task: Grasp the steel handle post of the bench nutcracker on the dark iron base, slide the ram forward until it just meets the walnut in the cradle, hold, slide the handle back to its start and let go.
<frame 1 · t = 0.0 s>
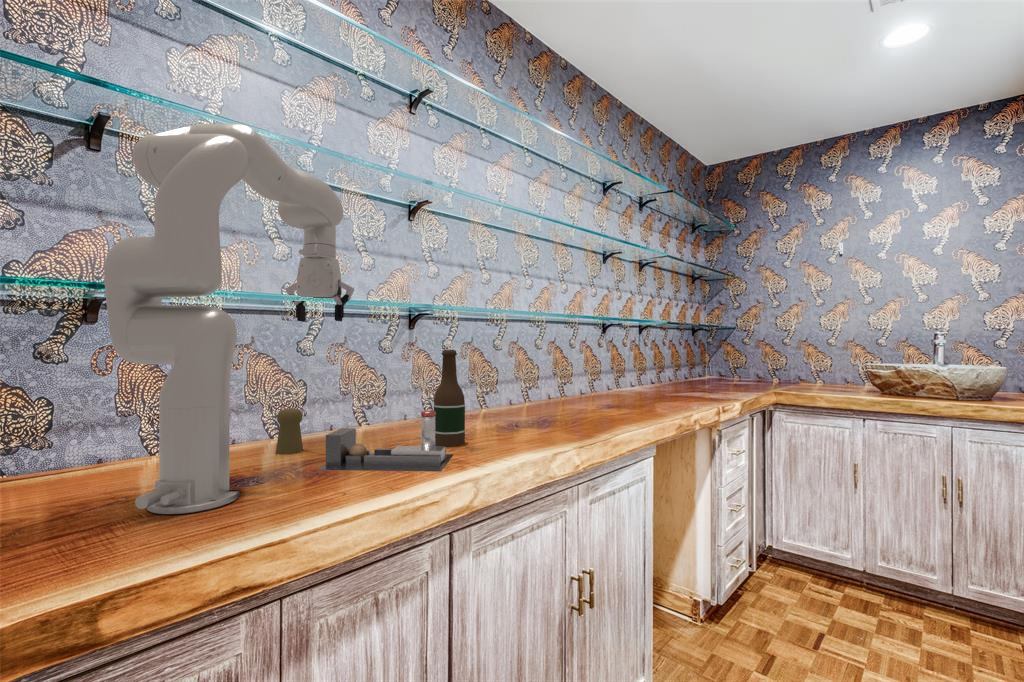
hand: (319, 321, 124), 31 cm above the worktop, tool pointing down, fingers open, 9 cm apart
beer bottle: (449, 450, 117), on the worktop
cork: (289, 459, 109), on the worktop
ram: (418, 436, 99), point 7 cm above the worktop, slide at 0.0 cm
nutcracker base: (389, 468, 99), on the worktop
walnut: (358, 461, 100), point 1 cm above the worktop, touching nutcracker base
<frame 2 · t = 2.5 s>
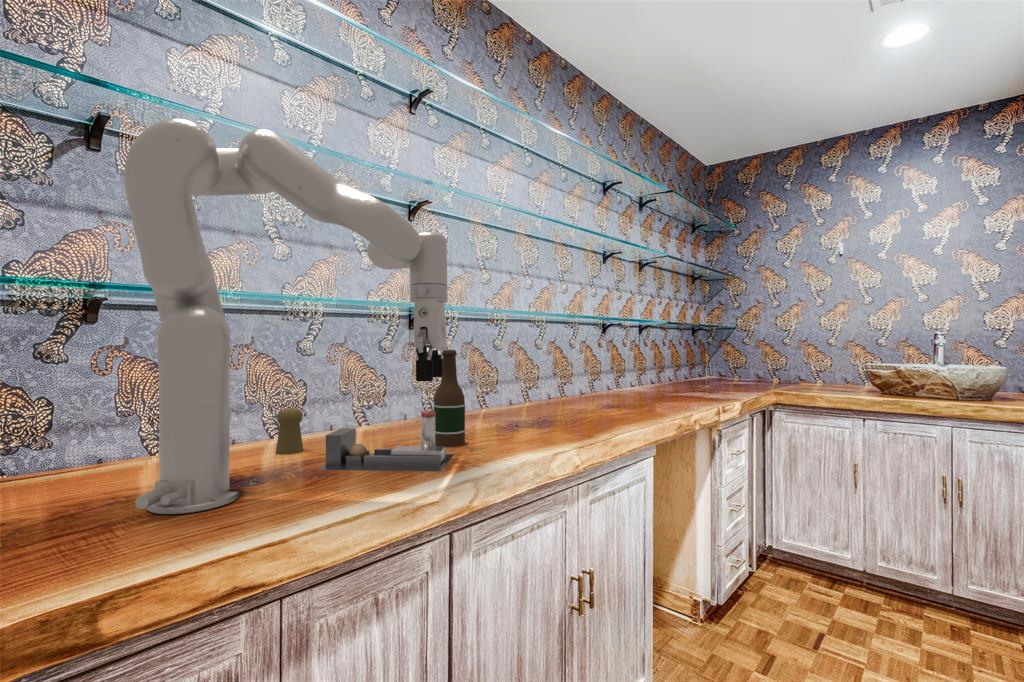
hand: (430, 378, 99), 18 cm above the worktop, tool pointing down, fingers open, 9 cm apart
nothing on the worktop moved.
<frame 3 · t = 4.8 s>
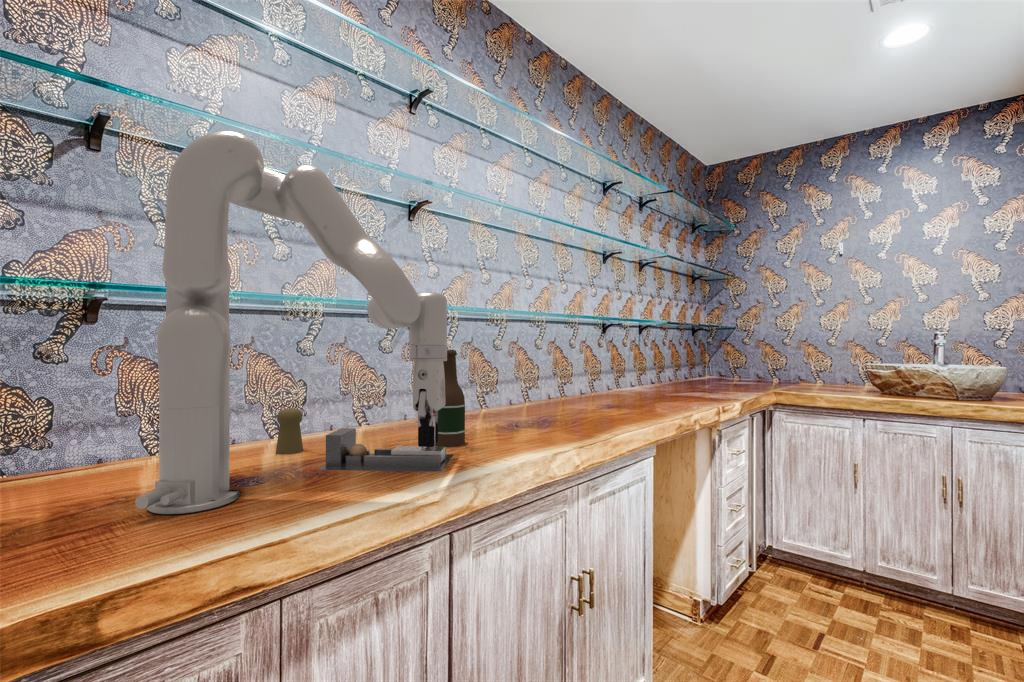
hand: (428, 443, 99), 5 cm above the worktop, tool pointing down, fingers closed on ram, 2 cm apart
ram: (418, 436, 99), point 7 cm above the worktop, slide at 0.0 cm, touching gripper
everything else where it was.
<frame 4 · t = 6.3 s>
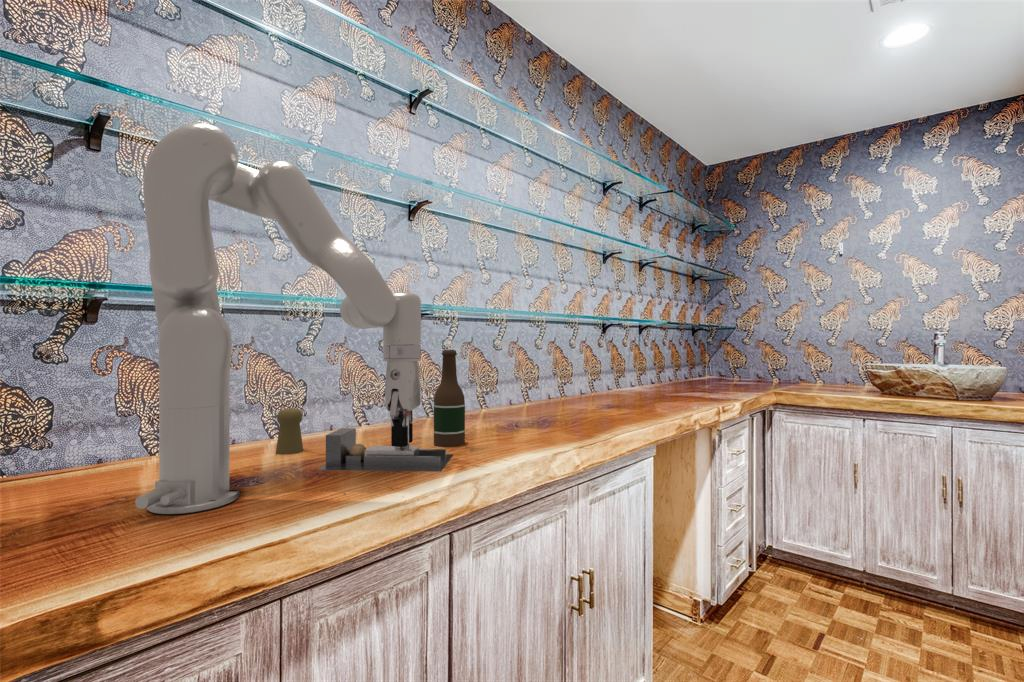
hand: (402, 443, 99), 5 cm above the worktop, tool pointing down, fingers closed on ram, 2 cm apart
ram: (392, 435, 99), point 7 cm above the worktop, slide at 5.4 cm, touching gripper
everything else where it was.
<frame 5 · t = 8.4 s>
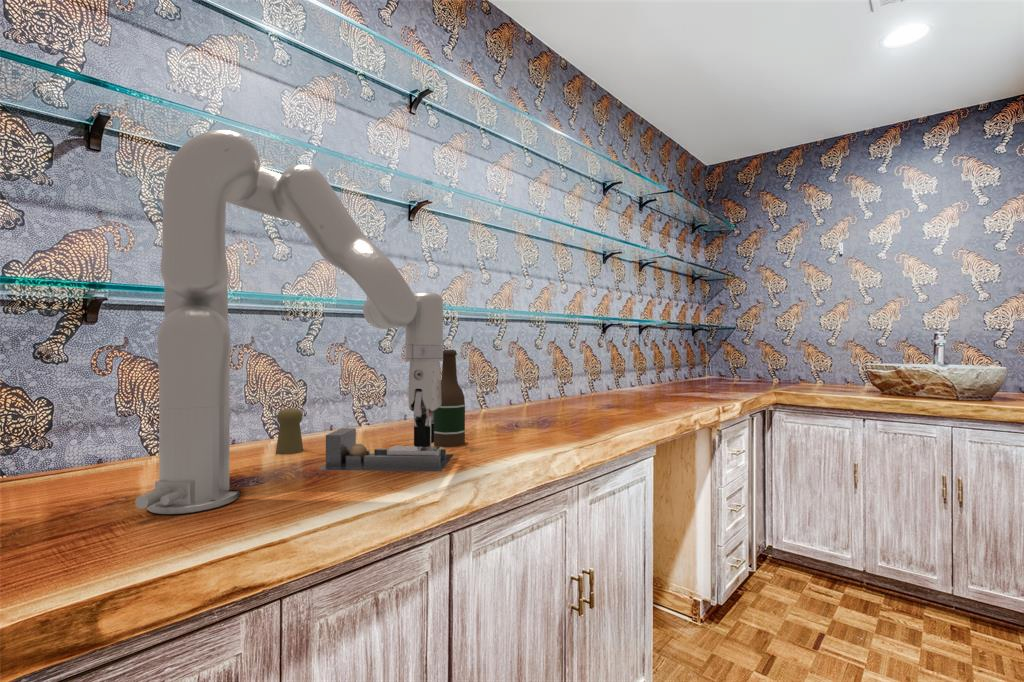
hand: (424, 443, 99), 5 cm above the worktop, tool pointing down, fingers closed on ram, 2 cm apart
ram: (414, 435, 99), point 7 cm above the worktop, slide at 0.8 cm, touching gripper
everything else where it was.
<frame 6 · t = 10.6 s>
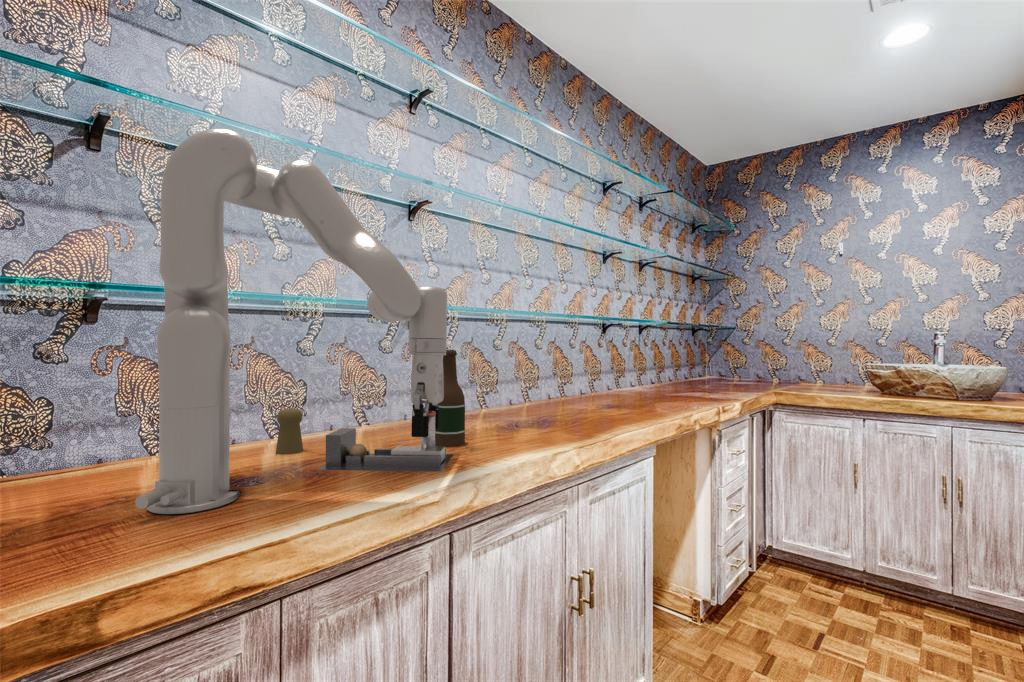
hand: (425, 432, 99), 8 cm above the worktop, tool pointing down, fingers open, 9 cm apart
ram: (418, 436, 99), point 7 cm above the worktop, slide at 0.0 cm
everything else where it was.
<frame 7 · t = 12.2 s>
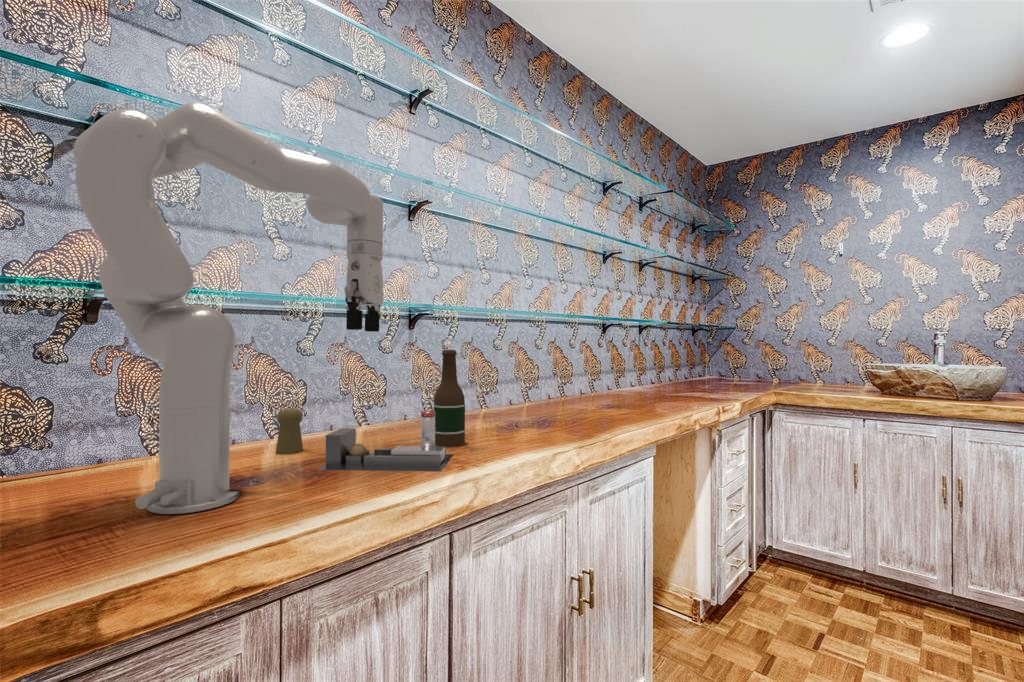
hand: (363, 330, 106), 28 cm above the worktop, tool pointing down, fingers open, 9 cm apart
nothing on the worktop moved.
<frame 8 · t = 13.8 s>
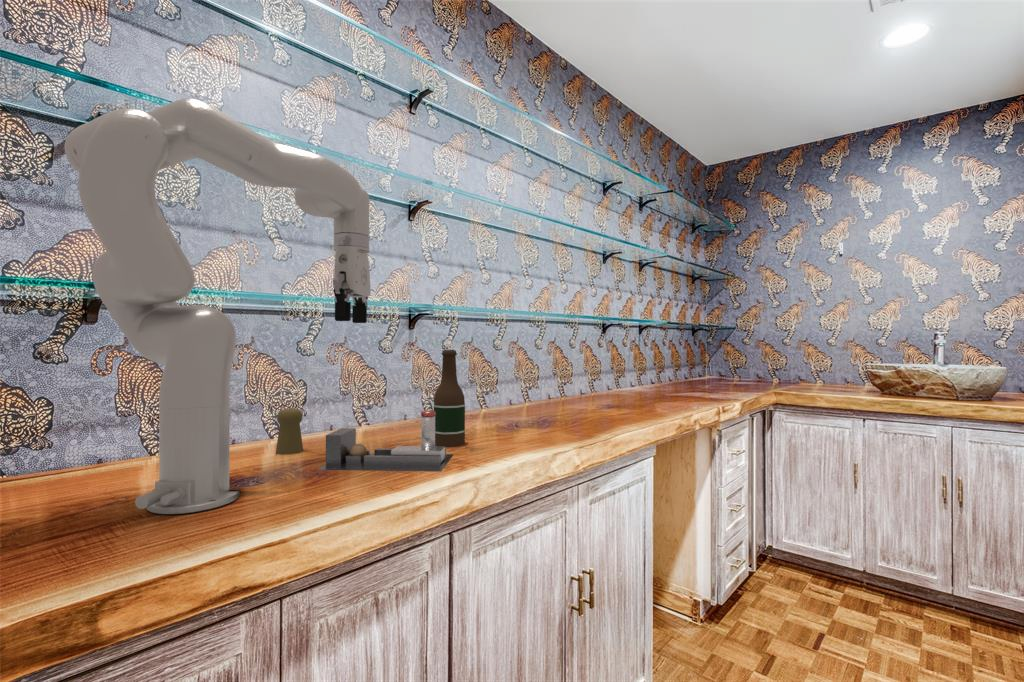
hand: (351, 322, 108), 30 cm above the worktop, tool pointing down, fingers open, 9 cm apart
nothing on the worktop moved.
at the end: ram slide at 0.0 cm; the gripper is holding nothing; walnut moved 0.0 cm from its start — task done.
